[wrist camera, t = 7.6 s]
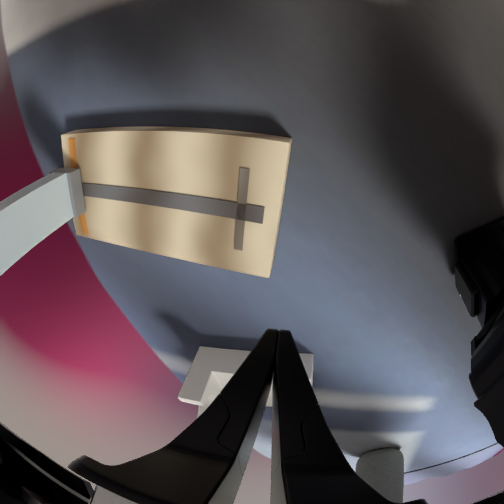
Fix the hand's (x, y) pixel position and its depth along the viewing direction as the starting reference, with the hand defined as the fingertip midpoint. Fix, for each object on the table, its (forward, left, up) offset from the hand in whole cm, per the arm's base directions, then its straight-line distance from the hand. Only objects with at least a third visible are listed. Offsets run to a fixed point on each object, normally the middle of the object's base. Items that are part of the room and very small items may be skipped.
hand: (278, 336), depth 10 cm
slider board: (+9, -6, -12) cm, 16 cm away
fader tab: (+16, -11, -9) cm, 22 cm away
